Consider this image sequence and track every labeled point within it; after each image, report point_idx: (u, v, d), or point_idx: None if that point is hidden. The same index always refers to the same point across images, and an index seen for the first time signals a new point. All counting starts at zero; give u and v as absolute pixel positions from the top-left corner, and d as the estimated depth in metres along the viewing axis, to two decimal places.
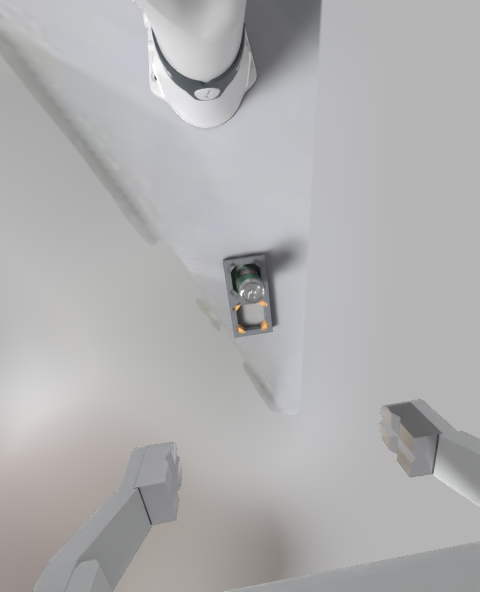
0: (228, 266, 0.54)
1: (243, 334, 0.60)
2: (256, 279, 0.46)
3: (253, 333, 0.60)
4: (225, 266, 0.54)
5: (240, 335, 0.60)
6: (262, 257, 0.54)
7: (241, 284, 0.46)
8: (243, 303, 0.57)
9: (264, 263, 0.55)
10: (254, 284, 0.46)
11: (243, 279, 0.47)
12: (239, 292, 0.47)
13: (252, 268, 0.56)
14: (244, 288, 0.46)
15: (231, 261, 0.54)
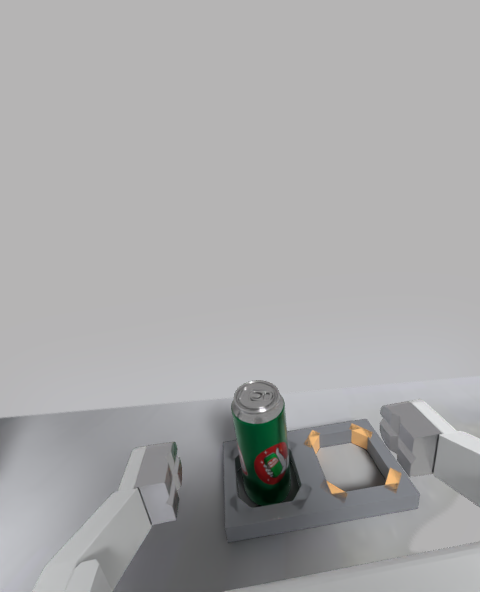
0: (237, 513, 0.24)
1: (399, 471, 0.26)
2: None
3: (386, 451, 0.28)
4: (237, 521, 0.23)
5: (405, 478, 0.25)
6: (226, 445, 0.31)
7: (242, 419, 0.23)
8: (321, 475, 0.26)
9: None
10: (240, 394, 0.24)
11: (236, 423, 0.23)
12: (259, 420, 0.22)
13: None
14: (248, 407, 0.23)
15: (227, 506, 0.25)
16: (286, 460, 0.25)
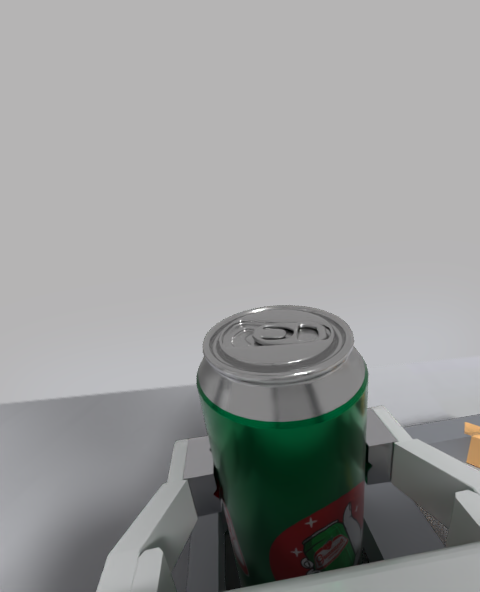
0: None
1: None
2: None
3: None
4: None
5: None
6: None
7: (228, 404, 0.06)
8: None
9: None
10: (223, 333, 0.08)
11: (209, 421, 0.07)
12: (292, 409, 0.06)
13: None
14: (247, 364, 0.06)
15: None
16: (362, 530, 0.08)
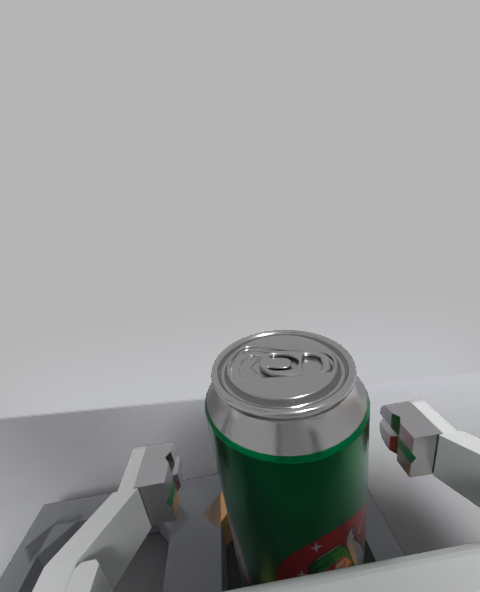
0: None
1: None
2: None
3: (390, 543, 0.11)
4: None
5: None
6: (43, 515, 0.14)
7: (238, 437, 0.07)
8: None
9: (71, 505, 0.15)
10: (231, 361, 0.08)
11: (219, 450, 0.07)
12: (299, 443, 0.06)
13: None
14: (256, 398, 0.07)
15: None
16: (364, 549, 0.09)
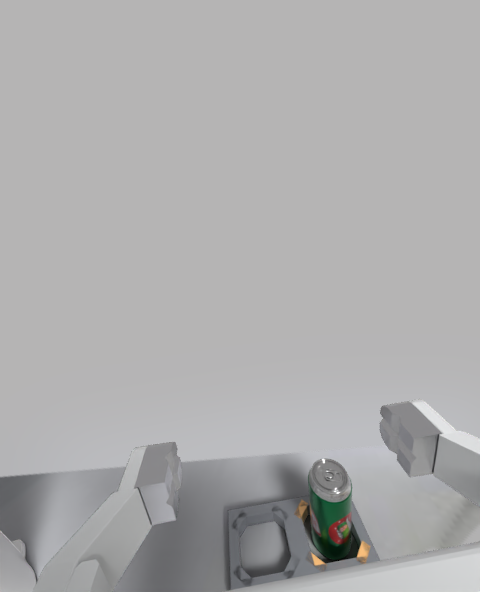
0: (240, 582, 0.30)
1: (369, 545, 0.32)
2: (309, 474, 0.32)
3: (360, 523, 0.34)
4: None
5: (373, 552, 0.31)
6: (230, 514, 0.37)
7: (322, 497, 0.30)
8: (307, 546, 0.33)
9: (239, 510, 0.38)
10: (315, 473, 0.31)
11: (315, 498, 0.30)
12: (336, 499, 0.29)
13: None
14: (326, 488, 0.30)
15: (232, 575, 0.31)
16: None
